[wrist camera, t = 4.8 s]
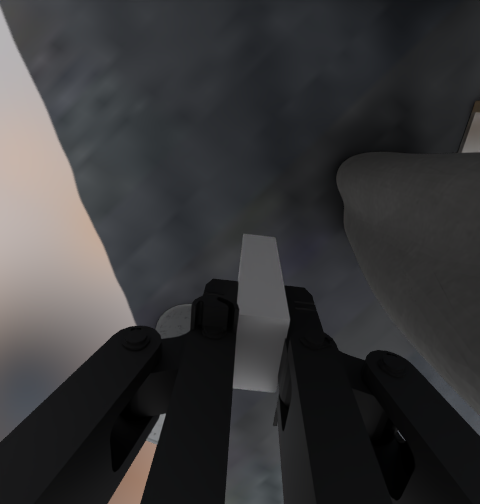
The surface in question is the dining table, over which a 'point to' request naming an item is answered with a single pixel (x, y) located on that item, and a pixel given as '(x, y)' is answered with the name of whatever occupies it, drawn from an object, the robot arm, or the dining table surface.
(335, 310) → the dining table surface
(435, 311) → the vase
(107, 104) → the dining table surface
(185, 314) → the grey cylinder
